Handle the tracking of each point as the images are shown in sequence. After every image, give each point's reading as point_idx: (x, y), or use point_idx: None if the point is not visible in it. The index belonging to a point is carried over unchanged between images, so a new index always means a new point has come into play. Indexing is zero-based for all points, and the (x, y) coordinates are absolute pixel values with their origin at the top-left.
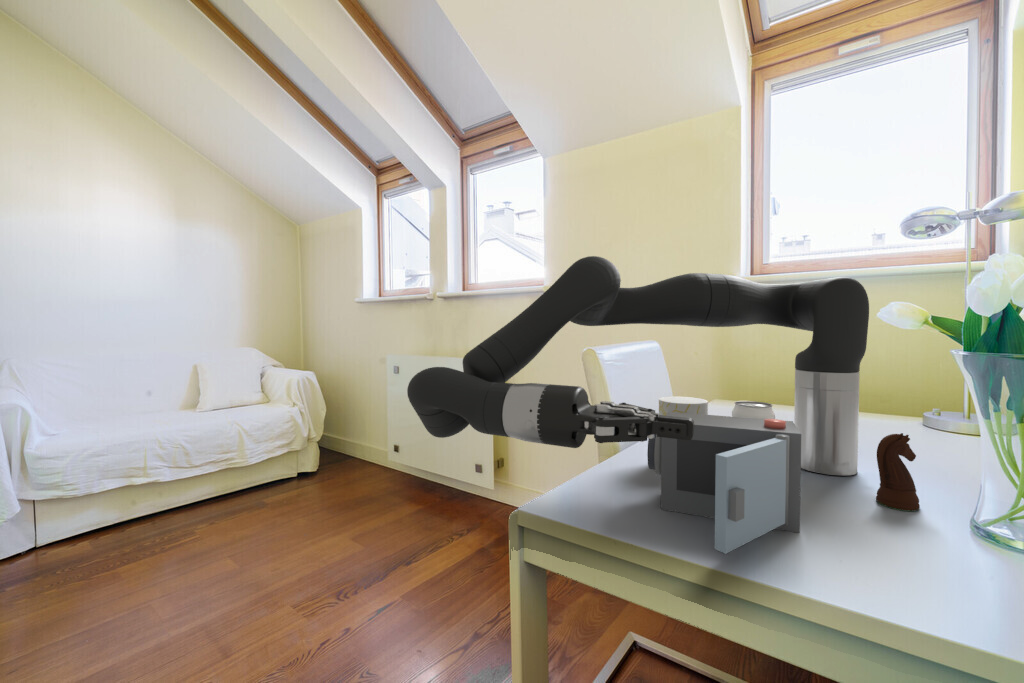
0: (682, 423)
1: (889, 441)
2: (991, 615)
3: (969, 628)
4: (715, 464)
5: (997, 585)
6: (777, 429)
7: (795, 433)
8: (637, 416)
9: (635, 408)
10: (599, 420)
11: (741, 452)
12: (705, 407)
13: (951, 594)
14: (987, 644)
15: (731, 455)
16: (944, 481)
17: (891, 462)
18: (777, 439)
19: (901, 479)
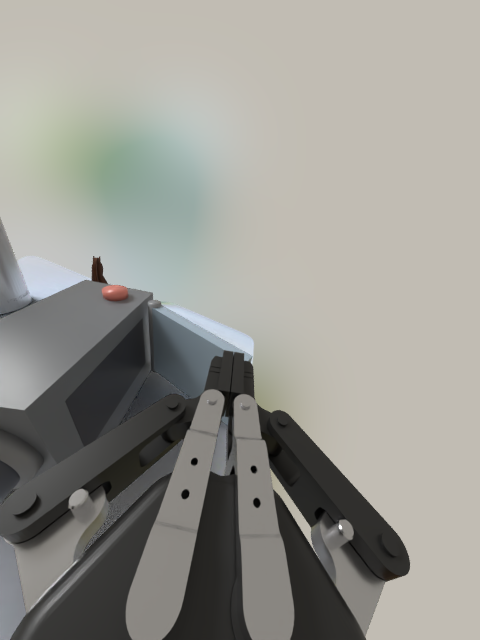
0: (245, 365)
1: (96, 265)
2: (230, 330)
3: (243, 340)
4: (113, 377)
5: (203, 318)
6: (130, 298)
7: (150, 294)
8: (259, 434)
9: (211, 435)
10: (405, 548)
11: (226, 342)
12: None
13: (217, 333)
14: (252, 340)
15: (242, 351)
16: (66, 275)
17: (103, 280)
18: (160, 308)
19: None
